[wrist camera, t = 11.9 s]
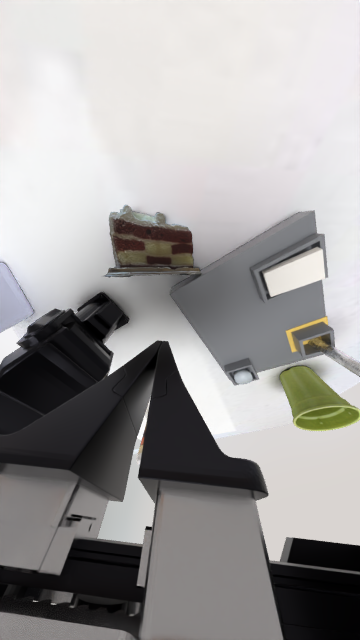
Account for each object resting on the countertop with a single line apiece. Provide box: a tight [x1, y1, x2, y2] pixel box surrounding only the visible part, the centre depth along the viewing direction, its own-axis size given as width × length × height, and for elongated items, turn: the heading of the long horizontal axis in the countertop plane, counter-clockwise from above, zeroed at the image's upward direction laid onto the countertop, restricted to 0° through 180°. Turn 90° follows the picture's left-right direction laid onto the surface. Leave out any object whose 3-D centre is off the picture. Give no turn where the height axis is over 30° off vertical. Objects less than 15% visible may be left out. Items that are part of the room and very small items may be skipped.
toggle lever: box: [308, 337, 360, 377], centre depth 17 cm, size 3×3×11 cm
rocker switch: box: [262, 247, 325, 297], centre depth 16 cm, size 5×3×1 cm, turn 122°
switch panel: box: [170, 210, 335, 385], centre depth 22 cm, size 17×22×4 cm
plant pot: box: [280, 366, 360, 431], centre depth 27 cm, size 9×9×9 cm
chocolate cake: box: [105, 205, 202, 278], centre depth 17 cm, size 10×7×12 cm
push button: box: [233, 368, 253, 384], centre depth 26 cm, size 3×3×1 cm
